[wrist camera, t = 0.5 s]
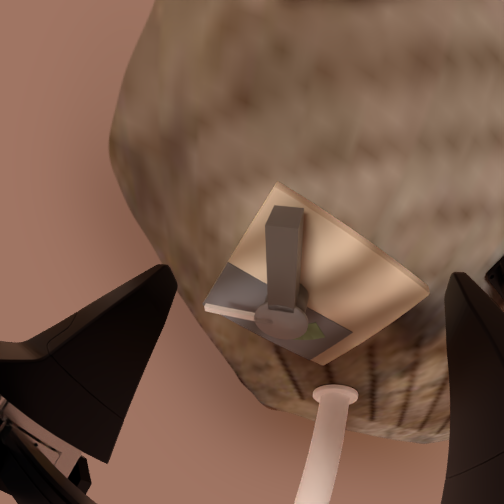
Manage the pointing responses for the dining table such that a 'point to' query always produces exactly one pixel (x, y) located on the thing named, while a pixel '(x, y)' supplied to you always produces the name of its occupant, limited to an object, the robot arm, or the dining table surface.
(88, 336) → the robot arm
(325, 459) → the candle
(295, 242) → the grey knobbed piece
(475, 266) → the dining table surface
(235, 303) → the thin beige panel
